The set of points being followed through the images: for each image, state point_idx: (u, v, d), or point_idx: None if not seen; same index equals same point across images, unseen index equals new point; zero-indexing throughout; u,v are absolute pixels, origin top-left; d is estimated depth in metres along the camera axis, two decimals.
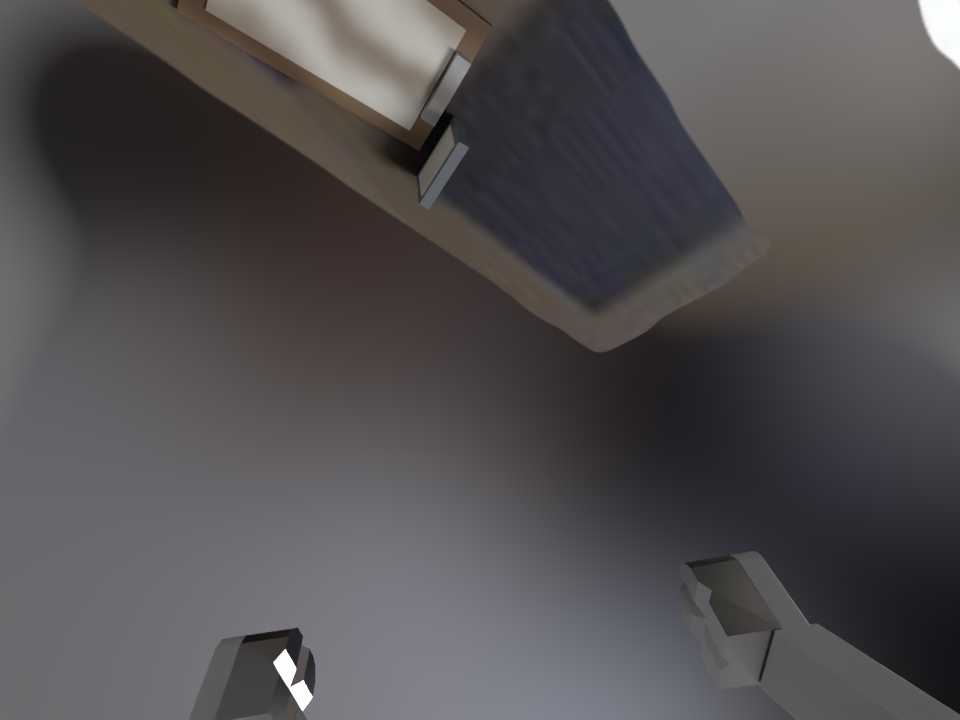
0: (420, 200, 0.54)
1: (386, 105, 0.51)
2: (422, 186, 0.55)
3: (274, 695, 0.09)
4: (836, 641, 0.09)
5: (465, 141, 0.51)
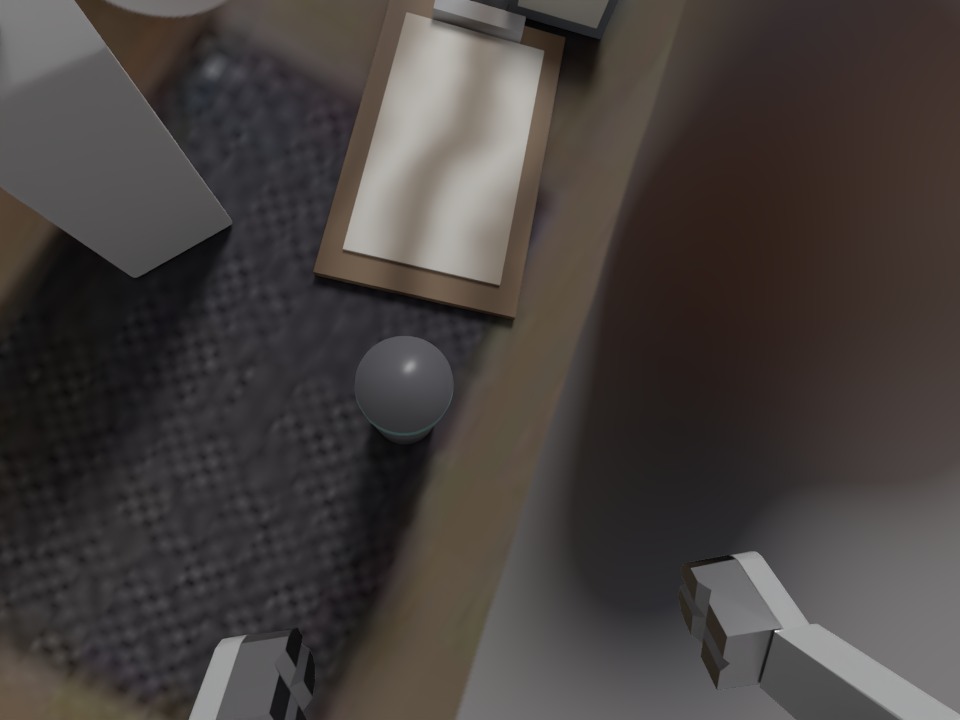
0: None
1: (525, 81, 0.39)
2: None
3: (274, 695, 0.09)
4: (836, 641, 0.09)
5: None
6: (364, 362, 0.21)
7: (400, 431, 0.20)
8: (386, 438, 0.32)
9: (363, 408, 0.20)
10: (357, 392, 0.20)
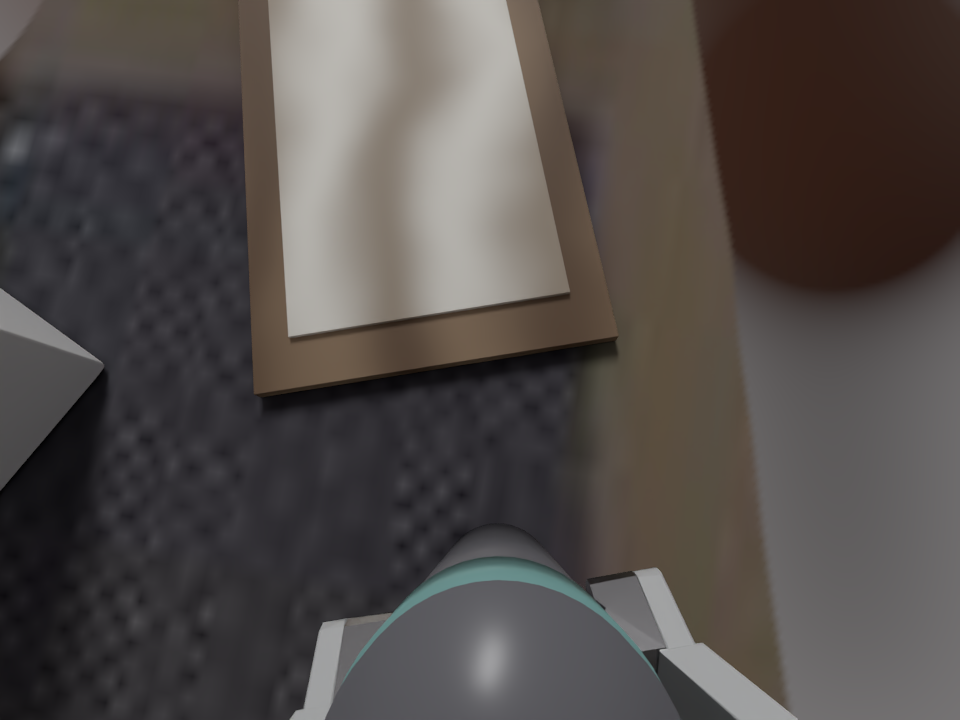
0: None
1: None
2: None
3: None
4: (719, 660, 0.09)
5: None
6: None
7: None
8: None
9: None
10: None
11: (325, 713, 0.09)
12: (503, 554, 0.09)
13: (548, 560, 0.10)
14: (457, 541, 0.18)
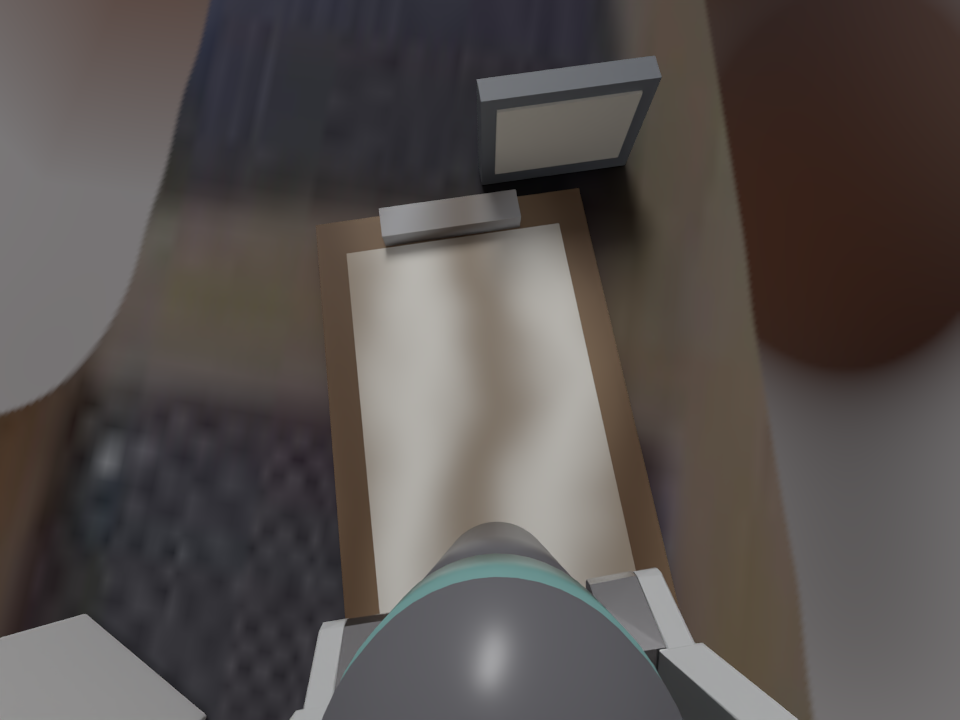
0: (652, 84, 0.22)
1: (551, 283, 0.25)
2: (625, 114, 0.24)
3: None
4: (719, 660, 0.09)
5: (478, 103, 0.23)
6: None
7: None
8: None
9: None
10: None
11: None
12: (503, 551, 0.09)
13: (548, 558, 0.10)
14: None
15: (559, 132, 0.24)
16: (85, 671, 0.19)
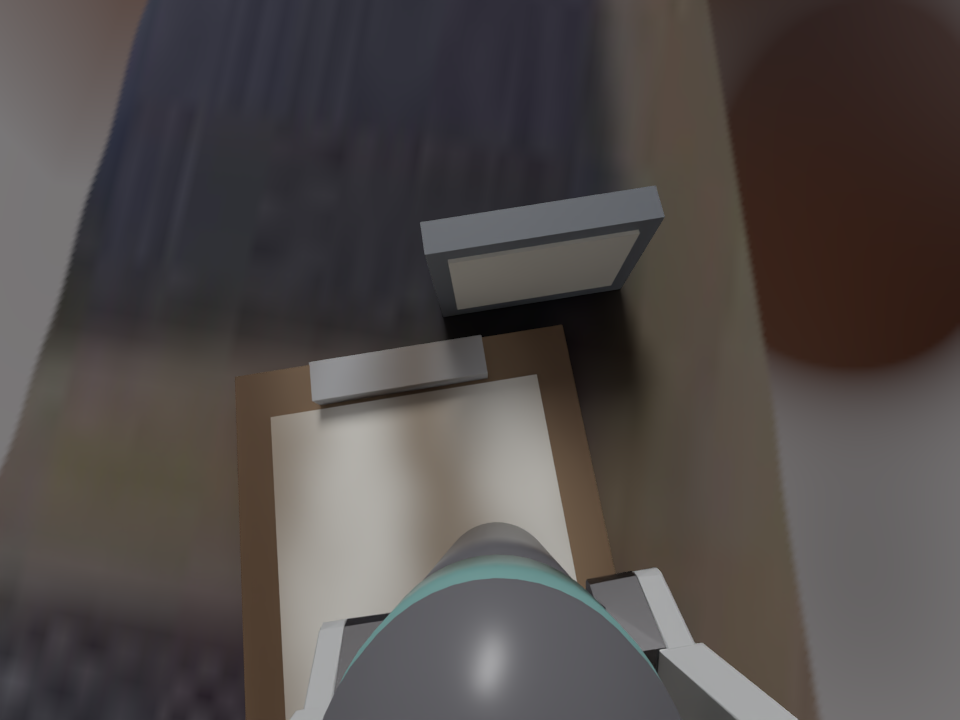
0: (652, 223, 0.17)
1: (526, 457, 0.20)
2: (617, 252, 0.18)
3: None
4: (719, 661, 0.09)
5: None
6: None
7: None
8: None
9: None
10: None
11: None
12: (502, 552, 0.09)
13: (548, 558, 0.10)
14: None
15: (533, 272, 0.19)
16: None
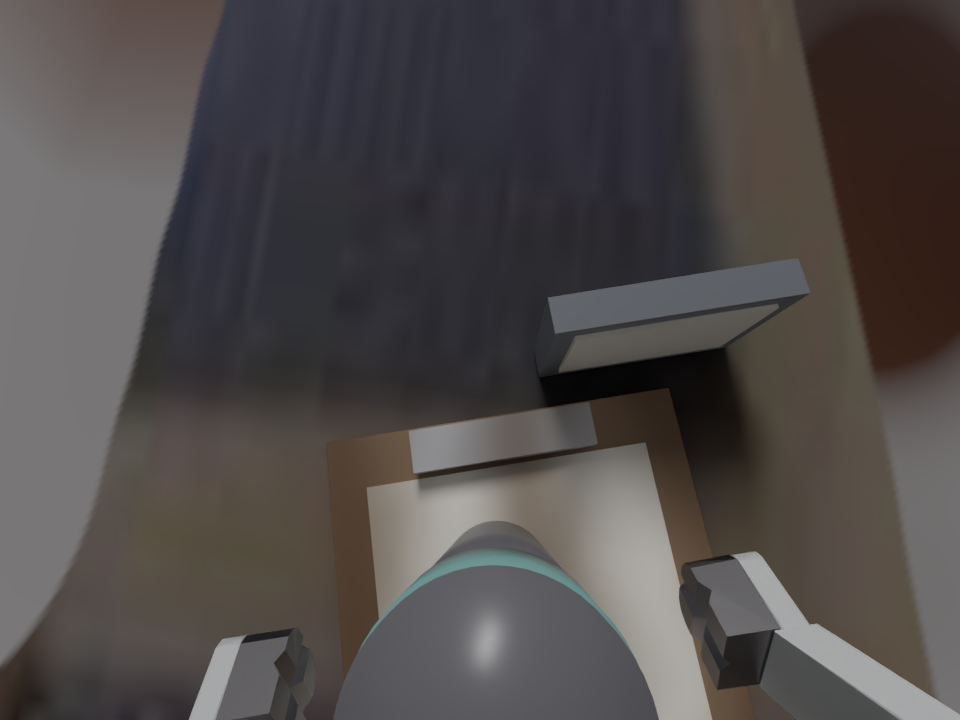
0: (793, 298, 0.16)
1: (639, 533, 0.19)
2: (746, 322, 0.17)
3: (274, 695, 0.09)
4: (836, 640, 0.09)
5: (546, 318, 0.17)
6: None
7: None
8: None
9: None
10: None
11: None
12: (499, 546, 0.10)
13: (541, 552, 0.11)
14: None
15: (653, 342, 0.18)
16: None
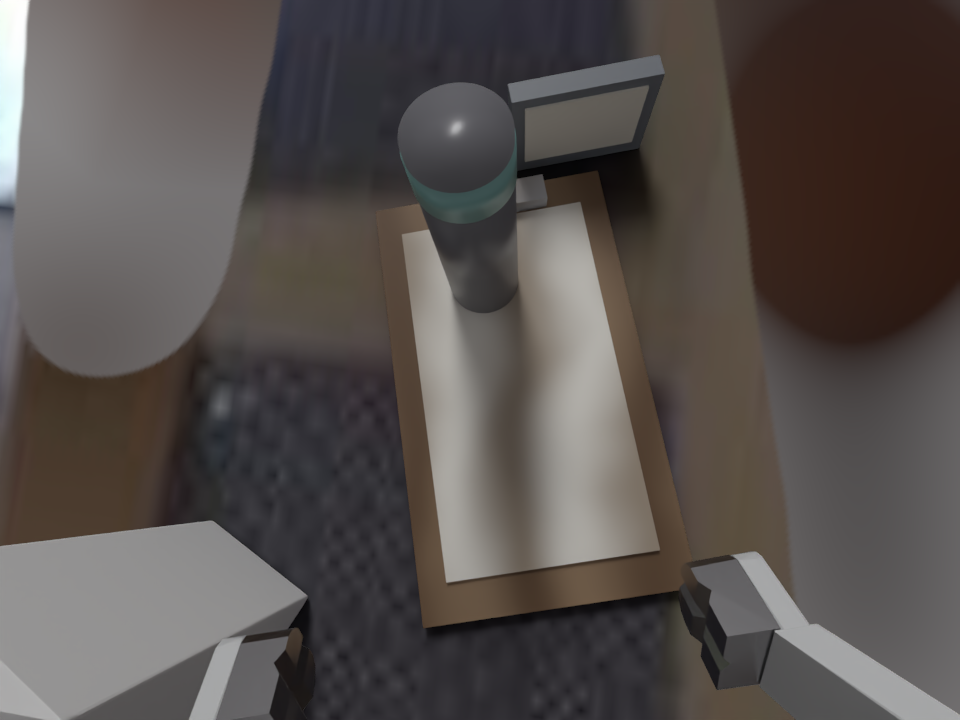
0: (657, 79, 0.26)
1: (573, 253, 0.30)
2: (635, 105, 0.28)
3: (274, 695, 0.09)
4: (836, 640, 0.09)
5: (509, 103, 0.28)
6: (402, 129, 0.17)
7: (471, 182, 0.17)
8: (474, 308, 0.29)
9: (420, 173, 0.17)
10: (407, 160, 0.17)
11: None
12: None
13: None
14: None
15: (579, 124, 0.28)
16: (221, 555, 0.25)
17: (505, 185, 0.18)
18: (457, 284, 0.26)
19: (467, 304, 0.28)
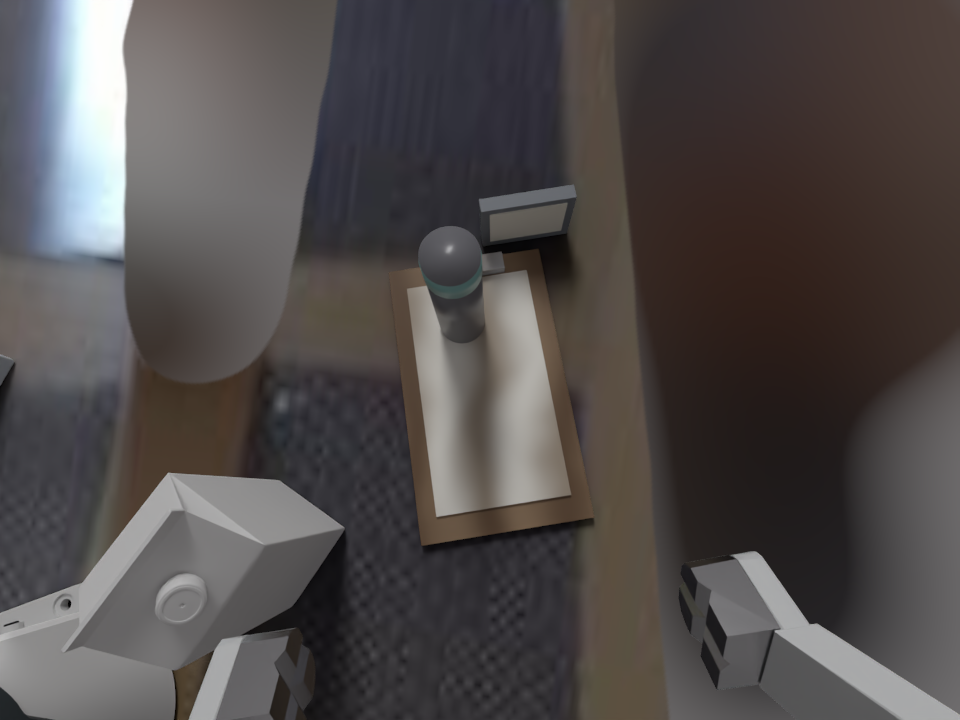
0: (572, 200, 0.42)
1: (521, 304, 0.45)
2: (560, 212, 0.43)
3: (274, 695, 0.09)
4: (836, 640, 0.09)
5: None
6: (421, 251, 0.32)
7: (457, 282, 0.32)
8: (455, 340, 0.44)
9: (430, 276, 0.32)
10: (423, 269, 0.32)
11: None
12: None
13: None
14: None
15: (524, 222, 0.44)
16: (292, 498, 0.39)
17: (475, 280, 0.33)
18: (445, 326, 0.41)
19: (451, 337, 0.43)
